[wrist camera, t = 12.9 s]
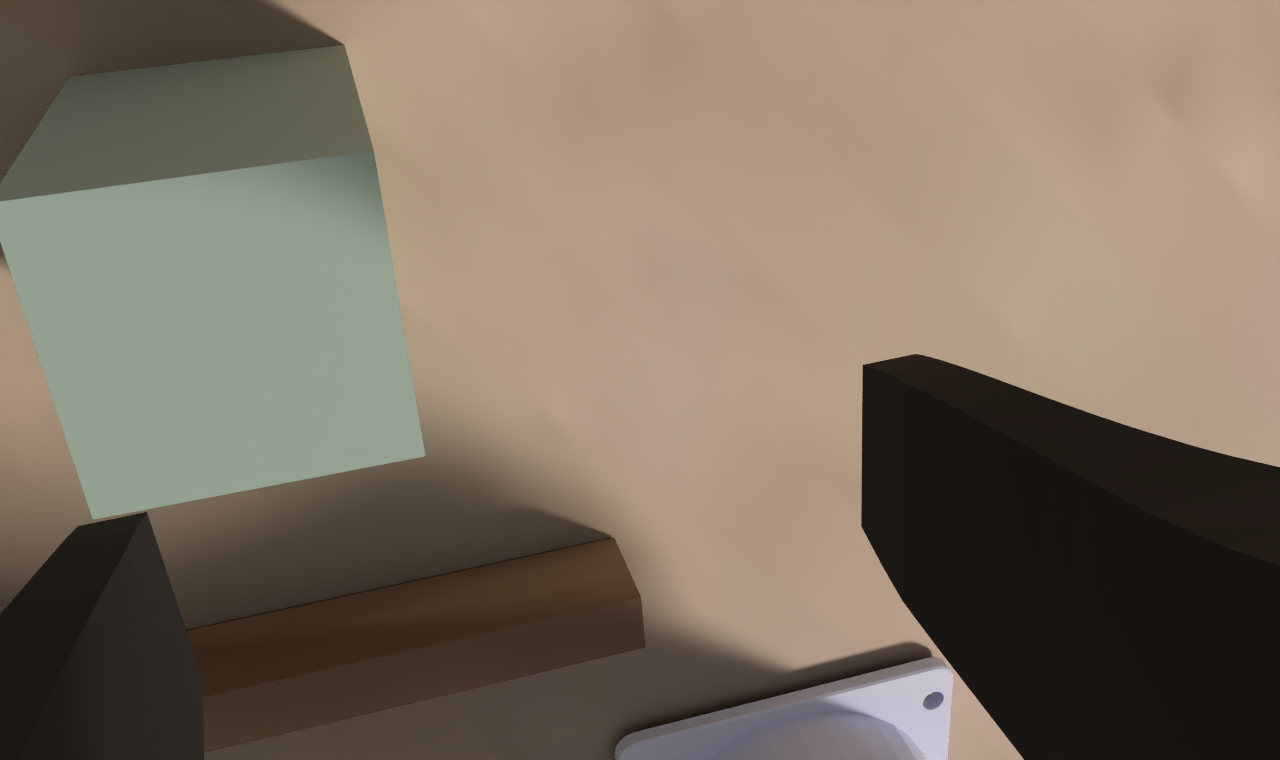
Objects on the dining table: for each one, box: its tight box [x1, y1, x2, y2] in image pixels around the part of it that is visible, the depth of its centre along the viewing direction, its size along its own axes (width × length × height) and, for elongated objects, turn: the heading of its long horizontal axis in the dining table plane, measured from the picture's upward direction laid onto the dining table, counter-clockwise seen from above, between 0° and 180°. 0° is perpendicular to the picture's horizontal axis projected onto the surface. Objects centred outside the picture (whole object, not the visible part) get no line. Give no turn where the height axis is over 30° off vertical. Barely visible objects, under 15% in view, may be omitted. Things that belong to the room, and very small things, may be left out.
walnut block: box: [186, 538, 645, 752], centre depth 18 cm, size 18×13×2 cm
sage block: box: [0, 45, 425, 520], centre depth 16 cm, size 4×4×6 cm
